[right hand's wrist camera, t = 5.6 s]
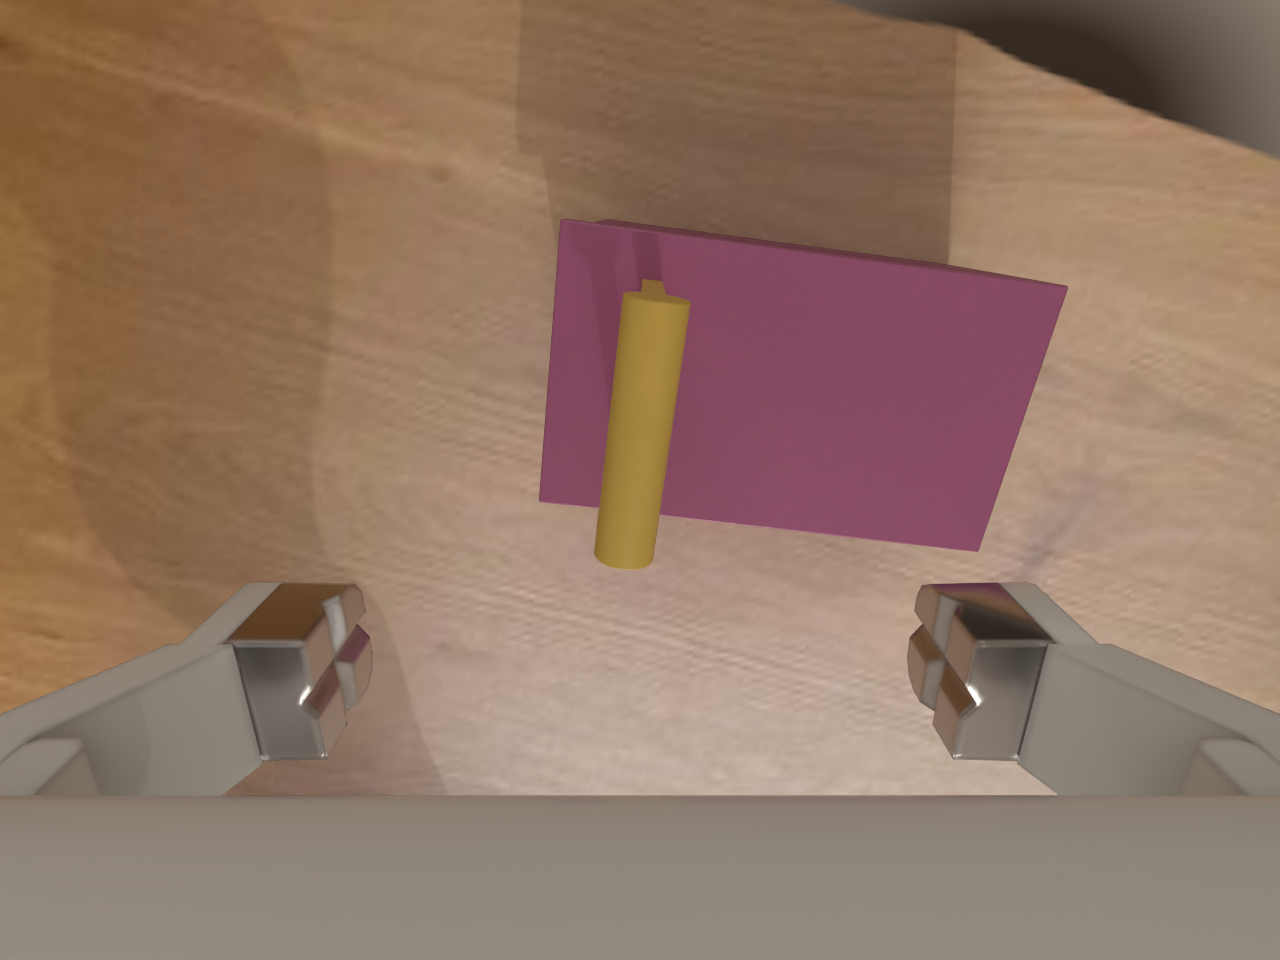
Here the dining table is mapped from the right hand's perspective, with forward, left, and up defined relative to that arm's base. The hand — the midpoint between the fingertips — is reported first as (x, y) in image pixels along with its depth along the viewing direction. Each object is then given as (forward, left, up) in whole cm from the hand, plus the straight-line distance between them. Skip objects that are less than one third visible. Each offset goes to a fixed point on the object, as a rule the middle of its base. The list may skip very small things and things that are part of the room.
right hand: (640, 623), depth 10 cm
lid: (+5, -2, -16) cm, 17 cm away
